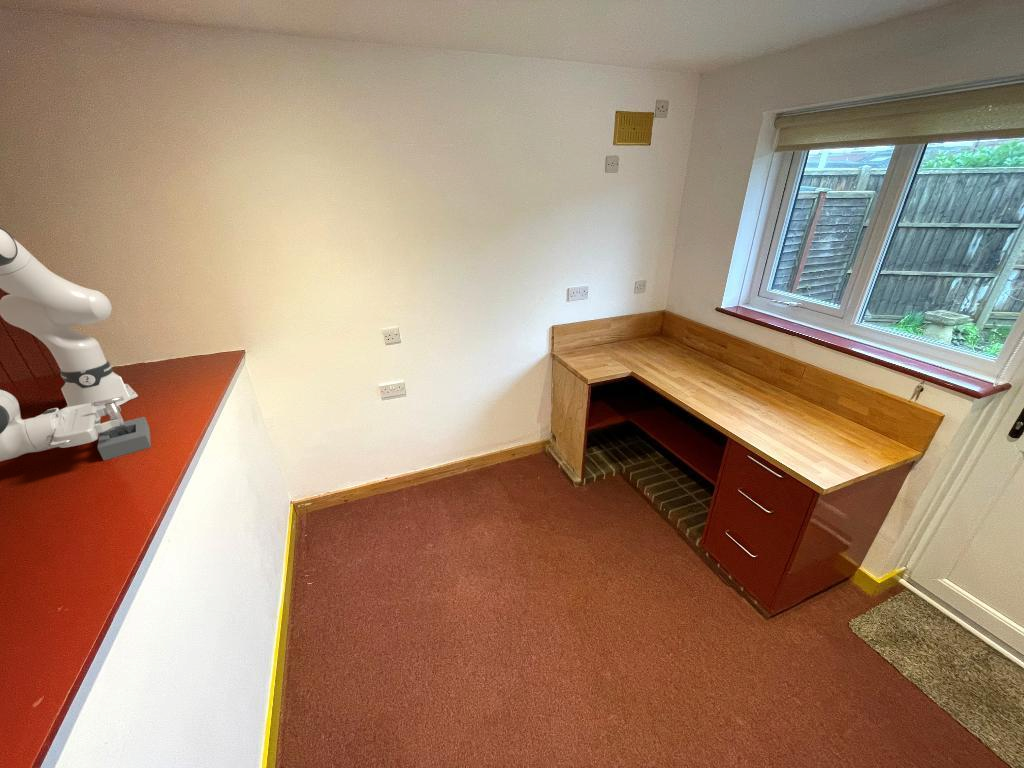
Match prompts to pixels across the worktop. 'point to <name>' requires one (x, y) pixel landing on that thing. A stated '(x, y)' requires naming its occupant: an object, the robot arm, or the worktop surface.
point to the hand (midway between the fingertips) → (119, 415)
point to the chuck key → (114, 413)
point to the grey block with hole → (125, 439)
